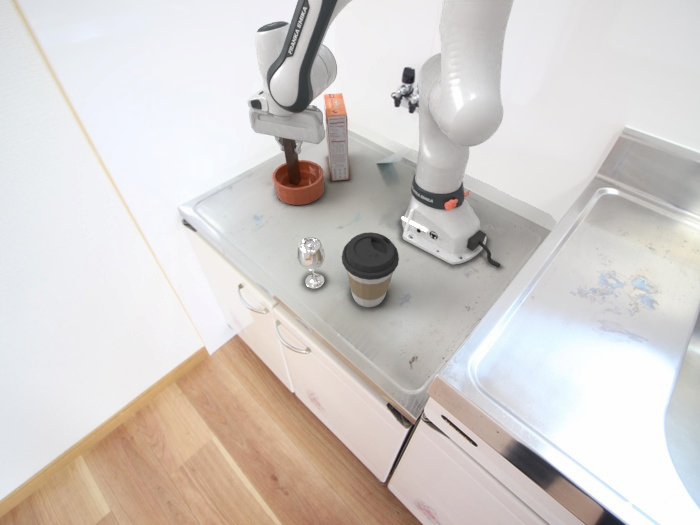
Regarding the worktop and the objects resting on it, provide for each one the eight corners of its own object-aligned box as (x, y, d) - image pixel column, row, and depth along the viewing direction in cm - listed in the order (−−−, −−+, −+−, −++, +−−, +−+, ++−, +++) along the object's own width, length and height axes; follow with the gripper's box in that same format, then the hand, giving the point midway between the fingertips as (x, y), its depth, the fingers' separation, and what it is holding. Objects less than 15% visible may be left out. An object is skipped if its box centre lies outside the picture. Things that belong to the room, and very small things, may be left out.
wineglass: (299, 276, 81) (292, 240, 72) (322, 268, 82) (318, 232, 73) (307, 294, 77) (300, 258, 68) (330, 286, 79) (327, 250, 70)
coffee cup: (404, 300, 76) (412, 254, 65) (361, 324, 72) (362, 280, 61) (374, 267, 82) (377, 221, 71) (334, 288, 78) (330, 242, 67)
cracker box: (327, 157, 115) (322, 93, 99) (345, 156, 115) (343, 92, 100) (330, 181, 106) (325, 115, 90) (349, 180, 106) (348, 113, 90)
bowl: (334, 192, 102) (333, 175, 98) (293, 213, 96) (290, 196, 92) (306, 171, 110) (304, 154, 105) (267, 189, 104) (263, 172, 99)
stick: (301, 180, 102) (294, 130, 91) (297, 185, 101) (290, 134, 89) (293, 179, 103) (285, 128, 91) (289, 183, 101) (281, 133, 90)
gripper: (327, 101, 84) (330, 152, 94) (254, 90, 88) (264, 139, 99) (316, 112, 80) (320, 164, 90) (241, 100, 85) (253, 150, 95)
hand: (291, 151), depth 95 cm, fingers closed on stick, 2 cm apart
